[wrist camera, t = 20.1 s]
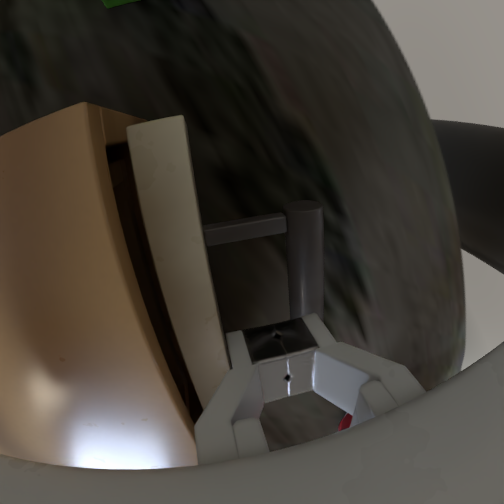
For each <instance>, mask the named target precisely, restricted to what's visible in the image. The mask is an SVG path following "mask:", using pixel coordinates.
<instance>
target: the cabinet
mask: <svg viewBox="0 0 504 504" xmlns="http://www.w3.org/2000/svg"><path fill="white" fill-rule="evenodd" d="M143 122H147V120H145V119H141V118H138V117H135V116H131V115H128V114H125V113H121V112H118V111H115V110H111V109H108V108H104V107H101V106H98V105H95V104H91V103H88V102H81V103H78V104H75V105H72V106H70V107H67V108H64V109H61V110H59V111H56V112H53V113H51V114H48V115H46V116H43V117H41V118H39V119H36V120H34V121H32V122H29V123H27V124H25V125H23V126H20V127H18V128H16V129H14V130H12V131H10V132H8V133H6V134H4V135H2V136H0V454H3V455H7V456H12V457H16V458H21V459H25V460H31V461H36V462H42V463H48V464H55V465H63V466H72V467H83V468H97V469H159V468H174V467H185V466H194V465H198V459H197V451H196V442H195V432H194V426H195V424H196V422H197V421H198V419H199V418H200V416H201V414H202V413H203V408H202V406H201V403H200V401H199V398H198V396H197V393H196V391H195V388H194V386H193V383H192V380H191V378H190V375H189V372H188V370H187V367H186V364H185V361H184V359H183V356H182V353H181V350H180V347H179V344H178V341H177V338H176V335H175V332H174V329H173V326H172V323H171V320H170V317H169V314H168V311H167V307H166V304H165V301H164V298H163V294H162V291H161V287H160V284H159V280H158V277H157V273H156V270H155V266H154V262H153V258H152V255H151V251H150V247H149V243H148V239H147V235H146V231H145V226H144V222H143V218H142V213H141V209H140V204H139V199H138V195H137V190H136V185H135V180H134V174H133V169H132V163H131V158H130V152H129V146H128V139H127V133H126V127H127V126H130V125H135V124H139V123H143ZM118 159H124V160H125V165H126V171H127V176H128V181H129V186H130V191H131V196H132V201H133V205H134V210H135V214H136V218H137V223H138V227H139V231H140V235H141V239H142V243H143V247H144V251H145V254H146V258H147V262H148V266H149V269H150V273H151V276H152V280H153V283H154V286H155V290H156V293H157V296H158V300H159V303H160V306H161V309H162V312H163V315H164V318H165V321H166V324H167V327H168V330H169V333H170V336H171V339H172V342H173V345H174V347H175V350H176V353H177V356H178V358H179V361H180V364H181V366H182V369H183V372H184V374H185V377H186V379H187V382H188V395H189V408H190V414H189V412H188V410H187V408H186V406H185V404H184V402H183V399H182V397H181V395H180V393H179V391H178V388H177V386H176V384H175V381H174V379H173V377H172V374H171V372H170V370H169V367H168V365H167V362H166V360H165V358H164V355H163V353H162V350H161V347H160V345H159V342H158V340H157V337H156V334H155V332H154V329H153V326H152V324H151V321H150V318H149V315H148V312H147V309H146V306H145V304H144V301H143V298H142V295H141V291H140V288H139V285H138V282H137V279H136V276H135V272H134V269H133V266H132V262H131V259H130V255H129V252H128V248H127V245H126V241H125V237H124V233H123V229H122V226H121V222H120V217H119V213H118V209H117V205H116V200H115V196H114V191H113V187H112V182H111V177H110V172H109V166H108V162H111V161H115V160H118Z"/></svg>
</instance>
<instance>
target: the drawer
mask: <svg viewBox="0 0 504 504" xmlns="http://www.w3.org/2000/svg"><path fill="white" fill-rule="evenodd" d="M126 133H127V139H128V146H129V152H130V158H131V163H132V169H133V174H134V180H135V185H136V190H137V195H138V199H139V204H140V209H141V213H142V218H143V222H144V226H145V231H146V235H147V239H148V243H149V247H150V251H151V255H152V258H153V262H154V266H155V270H156V273H157V277H158V280H159V284H160V287H161V291H162V294H163V298H164V301H165V304H166V307H167V311H168V314H169V317H170V320H171V323H172V326H173V329H174V332H175V335H176V338H177V341H178V344H179V347H180V350H181V353H182V356H183V359H184V361H185V364H186V367H187V370H188V372H189V375H190V378H191V380H192V383H193V386H194V388H195V391H196V393H197V396H198V398H199V401H200V403H201V406H202V408H203V411H204V409H205V408H206V406H207V405H208V403H209V401H210V400H211V398H212V396H213V395H214V393H215V391H216V390H217V388H218V386H219V385H220V383H221V381H222V380H223V378H224V376H225V375H226V373H227V371H228V370H231V369H233V367H232V363H231V359H230V356H229V354H228V349H227V345H226V340H225V336H224V331H223V326H222V322H221V317H220V312H219V308H218V303H217V298H216V293H215V288H214V283H213V278H212V273H211V268H210V262H209V257H208V252H207V246H213V245H219V244H224V243H229V242H235V241H240V240H246V239H252V238H257V237H263V236H268V235H274V234H280V233H285V242H286V256H287V271H288V287H289V305H290V320H291V319H295V318H300V317H301V316H305V315H309V314H312V313H316V314H317V315H318V316H319V318H320V319H321V321H322V322H323V317H324V221H323V205H322V204H321V203H320V202H316V201H310V200H302V201H294V202H290V203H287V204H285V205H284V206H283V213H281V212H279V213H273V214H267V215H261V216H254V217H249V218H243V219H237V220H231V221H225V222H220V223H214V224H209V225H204V226H203V224H202V218H201V213H200V207H199V201H198V195H197V189H196V182H195V176H194V170H193V163H192V156H191V150H190V143H189V136H188V129H187V124H186V122H185V119H184V117H183V115H178V116H172V117H167V118H162V119H157V120H152V121H148V122H143V123H139V124H135V125H130V126H127V127H126ZM108 166H109V172H110V177H111V182H112V187H113V191H114V196H115V200H116V205H117V209H118V213H119V217H120V222H121V226H122V229H123V233H124V237H125V241H126V245H127V248H128V252H129V255H130V259H131V262H132V266H133V269H134V272H135V276H136V279H137V282H138V285H139V288H140V291H141V295H142V298H143V301H144V304H145V306H146V309H147V312H148V315H149V318H150V321H151V324H152V326H153V329H154V332H155V334H156V337H157V340H158V342H159V345H160V347H161V350H162V353H163V355H164V358H165V360H166V362H167V365H168V367H169V370H170V372H171V374H172V377H173V379H174V381H175V384H176V386H177V388H178V391H179V393H180V395H181V397H182V399H183V402H184V404H185V406H186V408H187V410H188V412H189V414H190V408H189V395H188V382H187V379H186V377H185V374H184V372H183V369H182V366H181V364H180V361H179V358H178V356H177V353H176V350H175V347H174V345H173V342H172V339H171V336H170V333H169V330H168V327H167V324H166V321H165V318H164V315H163V312H162V309H161V306H160V303H159V300H158V296H157V293H156V290H155V286H154V283H153V280H152V276H151V273H150V269H149V266H148V262H147V258H146V254H145V251H144V247H143V243H142V239H141V235H140V231H139V227H138V223H137V218H136V214H135V210H134V205H133V201H132V196H131V191H130V186H129V181H128V176H127V171H126V165H125V160H124V159H118V160H115V161H111V162H108Z"/></svg>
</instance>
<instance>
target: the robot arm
mask: <svg viewBox="0 0 504 504" xmlns="http://www.w3.org/2000/svg"><path fill="white" fill-rule="evenodd" d="M226 341H227V345H228V350H229V354H230V359H231V363H232V367H233V369H231V370H228V371H227V373H226V375H225V376H224V378H223V380H222V381H221V383H220V385H219V386H218V388H217V390H216V391H215V393H214V395H213V396H212V398H211V400H210V401H209V403H208V405H207V406H206V408H205V409H204V411H203V413H202V414H201V416H200V418H199V419H198V421H197V422H196V424H195V426H194V432H195V442H196V451H197V459H198V465H194V466H185V467H174V468H159V469H97V468H83V467H72V466H63V465H55V464H48V463H42V462H36V461H31V460H25V459H21V458H16V457H12V456H7V455H3V454H0V504H504V342H502V343H501V344H500V345H499V346H497V347H496V348H495V349H493V350H492V351H491V352H489V353H488V354H486V355H485V356H483V357H482V358H481V359H479V360H478V361H476V362H475V363H473V364H472V365H470V366H469V367H467V368H466V369H464V370H463V371H461V372H460V373H458V374H456V375H455V376H453V377H451V378H450V379H448V380H447V381H445V382H443V383H441V384H440V385H438V386H436V387H434V388H433V389H431V390H429V391H427V392H426V391H425V390H424V388H423V387H422V386H421V385H420V383H419V382H418V381H417V380H416V379H415V377H414V376H413V375H412V374H411V373H410V371H409V370H408V369H407V368H406V366H404V365H401V364H398V363H396V362H393V361H390V360H388V359H385V358H382V357H380V356H377V355H374V354H372V353H369V352H367V351H364V350H361V349H359V348H356V347H354V346H351V345H349V344H346V343H344V342H338V343H337V342H336V341H335V339H334V338H333V336H332V335H331V333H330V332H329V331H328V329H327V328H326V326H325V325H324V323H323V322H322V321H321V319H320V318H319V316H318V315H317V314H316V313H312V314H309V315H305V316H301V317H300V318H295V319H291V320H287V321H283V322H279V323H275V324H270V325H265V326H260V327H255V328H249V329H244V330H242V331H241V330H240V331H234V332H229V333H226ZM311 390H314V392H316V393H318V394H319V395H321V396H322V397H324V398H325V399H327V400H328V401H330V402H331V403H333V404H335V405H336V406H338V407H339V408H341V409H343V410H344V411H346V412H347V413H349V414H351V415H352V416H353V417H352V421H351V424H350V427H349V428H347V429H344V430H341V431H339V432H336V433H333V434H330V435H327V436H324V437H321V438H318V439H315V440H312V441H309V442H305V443H302V444H299V445H295V446H292V447H288V448H284V449H280V450H277V451H272V452H270V451H269V448H268V445H267V442H266V439H265V436H264V433H263V429H262V426H261V423H260V420H259V417H260V415H261V412H262V409H263V406H264V403H267V402H270V401H274V400H278V399H281V398H285V397H288V396H292V395H296V394H300V393H304V392H308V391H311Z"/></svg>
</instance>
